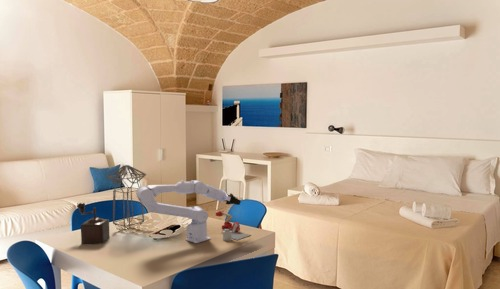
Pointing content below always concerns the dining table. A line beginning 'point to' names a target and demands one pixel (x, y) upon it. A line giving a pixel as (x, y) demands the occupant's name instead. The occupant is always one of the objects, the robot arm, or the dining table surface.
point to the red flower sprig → (227, 224)
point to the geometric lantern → (126, 192)
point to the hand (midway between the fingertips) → (236, 201)
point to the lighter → (228, 233)
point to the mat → (239, 235)
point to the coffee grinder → (93, 228)
